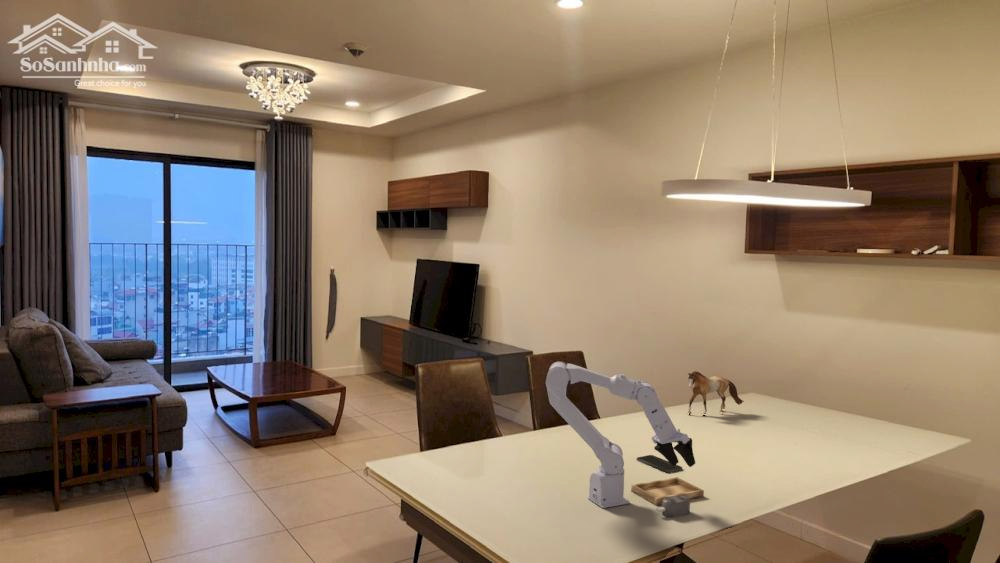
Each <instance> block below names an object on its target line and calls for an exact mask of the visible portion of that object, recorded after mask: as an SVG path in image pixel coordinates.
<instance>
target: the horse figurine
mask: <svg viewBox="0 0 1000 563" xmlns="http://www.w3.org/2000/svg"><path fill="white" fill-rule="evenodd" d="M687 374H688V377H687V378H688V381H689V383H688V384H689V385H688V387H689V389H691V390H692V393H691V396H690V399H689V403H688V404H689V405H688V409H687V411H688V412H687V414H688V413H689V414H691V415H692V411H691V409H692V408H691V407H692V404H693V402H694V400H695V399H696V398H697V396H699V395H701V396H702V400H703V404H702V405H703V406H704V411H703V413H702V414H706V415H707V411H708V409H707V394H713V393H717V395H718V396H719V397H720V398H721V405H720V410H719V413H720V412H723V413H724V411H723V410H722V409H726V403H725V402H726V395H725V392H726V391H727V389H728V393H729V394H730V397H731V398H732V399H733V400H734V402H735V403H736V404H737V405H738V406H741V405H742V404H743V403H744V402H745V401H744V400H743V399H742V398H740V397H739V396H738V389H737V387H736V385H735V384H734V383H733V382H732V381H731V380H729V379H727V378H725V377H722V376H720V375H714V376H710V377H706V376H705V375H703V374H702V373H701V372H699V371H697V370H696V371H693V372H691V373H689V372H688V373H687Z"/></svg>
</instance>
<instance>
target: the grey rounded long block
mask: <svg viewBox="0 0 1000 563" xmlns="http://www.w3.org/2000/svg"><path fill="white" fill-rule="evenodd" d="M655 511H658V512H659V513H660V512H661V515H662V516H663V517H666V518H669V519H670V518H671V519H672V518H677V517H678V518H679V517H682V516H687V515H690V511H691V499H690V498H689V497H687V496H675V497H669V498H664V499H663V502H662V505H661V506H659V507H658V506H657V507H656V509H655Z"/></svg>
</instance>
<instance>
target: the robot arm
mask: <svg viewBox="0 0 1000 563" xmlns="http://www.w3.org/2000/svg"><path fill="white" fill-rule="evenodd" d="M545 378H546V379H545V386H546V390H547V396H548V402H549V404H550V406H552V407H553V409H555V411H556V412H557V414H558V415H560V416H561V418H562V419H564V421H565V422H566V423H567V424H568V425H569V426H570V427H571V428H572V429H573V430H574V431H575V433H577V435H579V436H580V438H581V439H582V440H583V442H585V443H586V444H587V445H588V447H589V448H590V449H591V450H592V451H593V453H594V455H595V457H596V458H597V459H598V460H599V462H600V464H601V465H600V466H599V467H598V468H599V469H598V470H596V471H595V472H592V473H591V474H590V478H589V488H588V489H589V495H588V496H587V500H590V501H591V502H593V503H594V504H596V505H597V506H599V507H600V508H602V509H606V508H612V507H615V506H622V505H628V504H630V500H628V499H626V498H624V489H625V488H624V487H625V468H624V467H625V461H624V458H623V450H622V448H621V446H620V445H618V444H616V443H614V442H612V441H611V440H609V439H608V437H606V436H604V435H602V433H601V432H600V431H599V430H598V429H597V428H596V427H595V425H593V423H592V422H591V421H590V420H588V418H587V417H586V416H585V415H584V414H583V413H582V412H581V411H580V409H579V408H578V407H577V406H576V405H575V404H574V403H573V402H572V401H571V400H570V399H569V398H568V397H567V387H568V384H569V381H570V385H572V384H575V383H576V384H577V383H580V382H583V383H587V384H591V385H594V386H598V387H602V388H606V389H607V390H608V391H609V393H610V395H614V396H617V397H621V398H623V399H626V400H630V401H636V403H637V404H638V405H639V406H641V408H642V410H643V413H644V415H645V417H646V419H647V421H648V423H649V424H650V426H651V429H652V430H653V432H654V435H653V436H652V437H651V440H652V442H653V443H654V444H656V445H655V446H654V447H653V449H654V450H655V451H657V452H658V453H659V454H660V455H662V456H663V457H664V458H665V460H666V461H668V462H669V463H670V464H671V465H672V466H675V465H678V463H679V459H678V456H677V454H676V452H677V453H678V454H679V455H680V456H681V458H682V459H683V460H684V462H685V464H686V465H687V466H688V467H689V468H691V467H693V466H694V465H696V459H695V456H694V451H693V439H692V438H691V437H689V436H688V434H687V433H683V432H682V431H681V429H680V428H676V426H675V424H674V423H673V421H672V420H671V417H670V415H669V414H668V412H667V410H666V408H665V406H664V405H663V403H661V400H660V398H659V397H658V394H657V392H656V390H655V388H654V386H653V385H652V384H651V383H648V382H647V381H646V380H645V381H642V380H640V379H637V380H635V379H632V378H629V377H626V375H625V374H623V373H620V374H615V375H613V376H608V375H605V374H602V373H599V372H596V371H593V370H590V369H588V368H585V367H582V366H579V365H577V364H573V363H566V362H564V361H556V362H553V363H552V364H551V365H550V366H549V369H548V372H547V374H546V377H545ZM673 443H677V444H676V445H674V446H673ZM675 451H676V452H675Z"/></svg>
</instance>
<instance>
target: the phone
mask: <svg viewBox="0 0 1000 563" xmlns="http://www.w3.org/2000/svg"><path fill="white" fill-rule="evenodd" d="M636 461H637V462H639V463H641V464H643V465H646V466H648V467H650V466H651V468H652V469H655V470H657V469H658V470H657V471H660V472H662V473H664V472H665V473H664V474H671V472H672V473H676V471H677V472H681V471H683V467H682V466H680V465H678V464H676V465H675V466H672V465H671V464H670V463H669V461H668V460H667V459H664V458H661V457H658V456H656V455H653V454H648V455H644V456H638V457H636Z"/></svg>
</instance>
